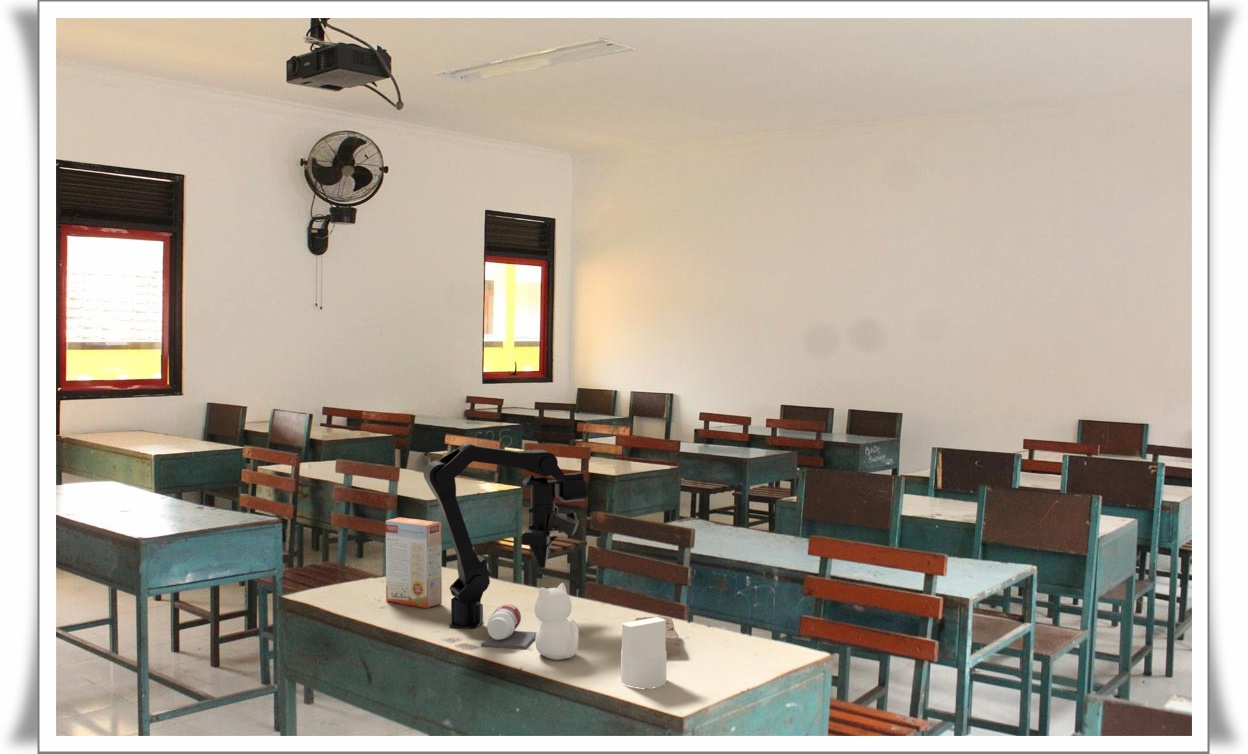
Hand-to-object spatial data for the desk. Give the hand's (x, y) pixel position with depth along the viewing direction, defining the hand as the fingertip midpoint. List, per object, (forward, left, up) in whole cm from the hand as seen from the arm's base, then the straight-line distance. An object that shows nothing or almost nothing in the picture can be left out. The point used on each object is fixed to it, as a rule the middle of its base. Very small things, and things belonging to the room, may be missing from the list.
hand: (542, 567), depth 270 cm
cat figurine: (+11, -30, -12) cm, 34 cm away
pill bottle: (-5, -14, -8) cm, 17 cm away
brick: (+30, -18, -13) cm, 37 cm away
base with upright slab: (+31, -43, -12) cm, 54 cm away
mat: (-2, -20, -12) cm, 24 cm away
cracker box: (-35, +7, -12) cm, 38 cm away
